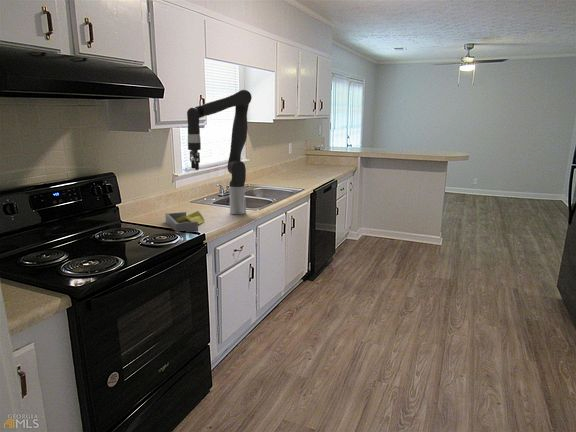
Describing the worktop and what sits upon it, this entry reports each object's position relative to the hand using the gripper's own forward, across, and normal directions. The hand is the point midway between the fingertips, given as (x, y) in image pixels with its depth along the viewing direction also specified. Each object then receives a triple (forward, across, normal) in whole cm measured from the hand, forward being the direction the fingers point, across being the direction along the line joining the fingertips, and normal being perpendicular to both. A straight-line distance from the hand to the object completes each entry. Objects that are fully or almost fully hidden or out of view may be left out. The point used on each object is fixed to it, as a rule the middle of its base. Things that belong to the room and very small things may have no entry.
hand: (195, 169), depth 250 cm
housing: (+28, -27, +15) cm, 42 cm away
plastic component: (+29, -24, +11) cm, 39 cm away
